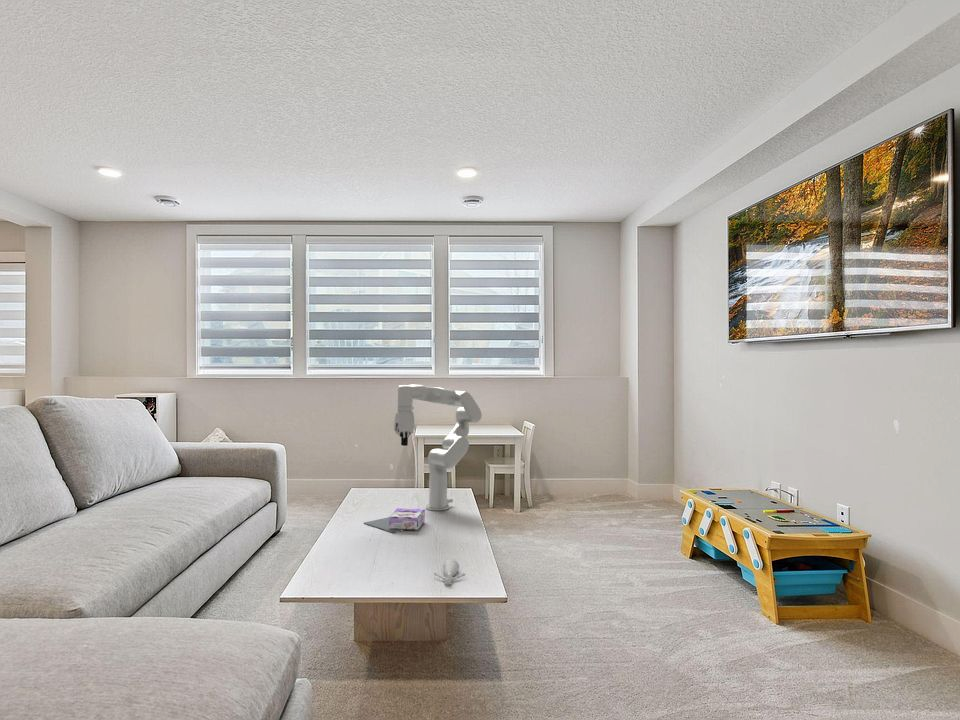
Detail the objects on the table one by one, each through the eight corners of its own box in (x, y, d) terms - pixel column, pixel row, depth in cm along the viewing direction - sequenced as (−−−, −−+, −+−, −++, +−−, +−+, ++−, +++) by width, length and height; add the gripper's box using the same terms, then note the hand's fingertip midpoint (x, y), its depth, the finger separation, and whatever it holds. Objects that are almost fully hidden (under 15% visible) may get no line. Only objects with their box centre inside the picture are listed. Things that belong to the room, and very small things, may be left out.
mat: (391, 517, 293) (391, 516, 293) (420, 526, 278) (420, 525, 278) (363, 523, 280) (363, 522, 280) (392, 533, 265) (392, 531, 265)
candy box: (425, 509, 285) (418, 517, 268) (424, 521, 285) (418, 530, 268) (397, 507, 286) (388, 516, 270) (396, 520, 286) (388, 529, 270)
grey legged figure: (467, 557, 220) (465, 577, 202) (466, 568, 220) (464, 590, 202) (435, 556, 220) (431, 576, 202) (435, 568, 220) (430, 589, 202)
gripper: (411, 408, 308) (410, 443, 308) (388, 409, 297) (388, 445, 297) (420, 409, 303) (420, 444, 303) (398, 410, 292) (397, 447, 292)
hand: (404, 445), depth 300 cm, fingers closed
